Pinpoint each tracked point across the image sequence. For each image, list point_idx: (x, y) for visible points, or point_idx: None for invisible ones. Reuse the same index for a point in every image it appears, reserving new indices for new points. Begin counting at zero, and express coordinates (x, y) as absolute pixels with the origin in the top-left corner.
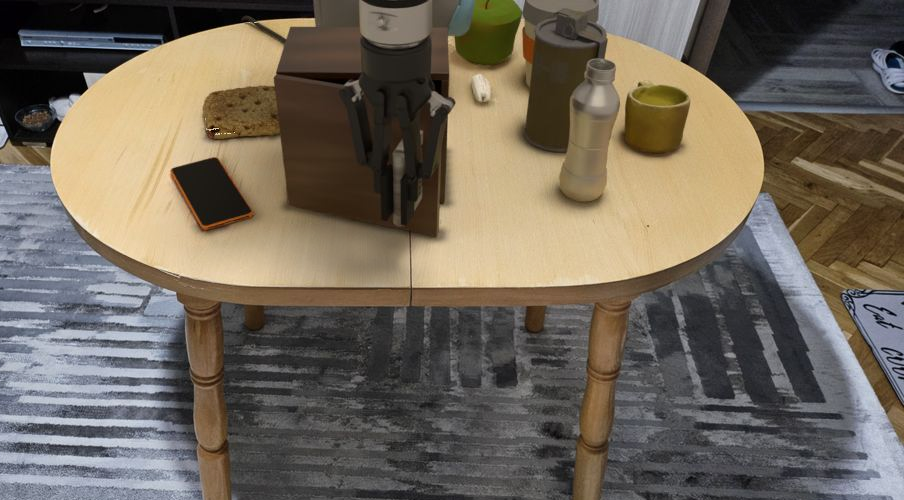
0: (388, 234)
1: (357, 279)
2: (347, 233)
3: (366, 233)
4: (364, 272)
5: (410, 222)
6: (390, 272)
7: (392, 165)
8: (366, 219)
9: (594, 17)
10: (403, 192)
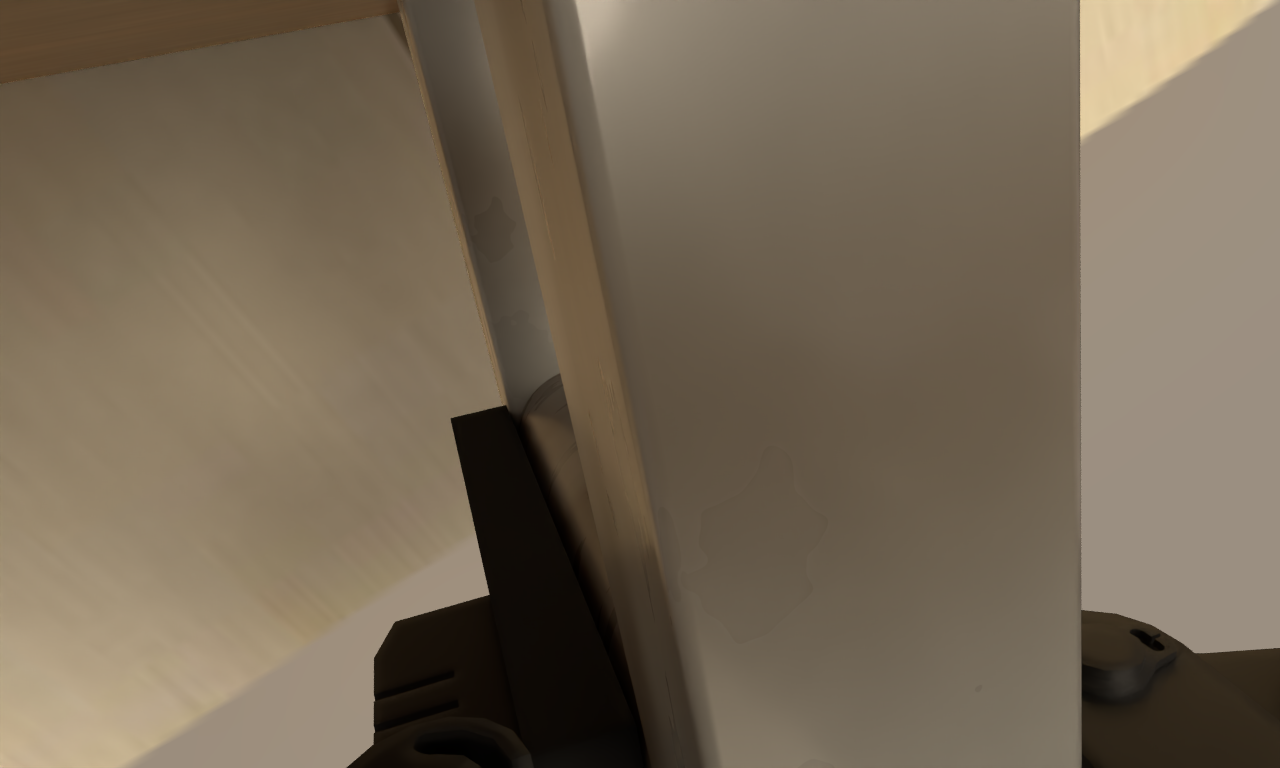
0: (277, 119)
1: (399, 573)
2: (9, 266)
3: (131, 192)
4: (394, 510)
5: (397, 5)
6: None
7: (611, 753)
8: (19, 77)
9: None
10: None
